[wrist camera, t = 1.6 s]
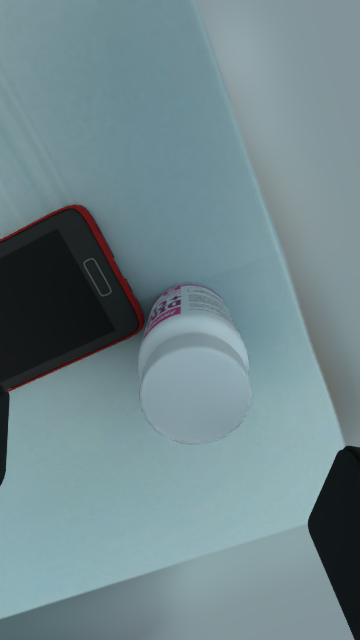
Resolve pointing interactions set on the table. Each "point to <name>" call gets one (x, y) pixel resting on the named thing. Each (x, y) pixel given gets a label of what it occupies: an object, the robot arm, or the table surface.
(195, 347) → the pill bottle
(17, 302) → the cell phone
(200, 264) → the table surface
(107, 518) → the table surface
